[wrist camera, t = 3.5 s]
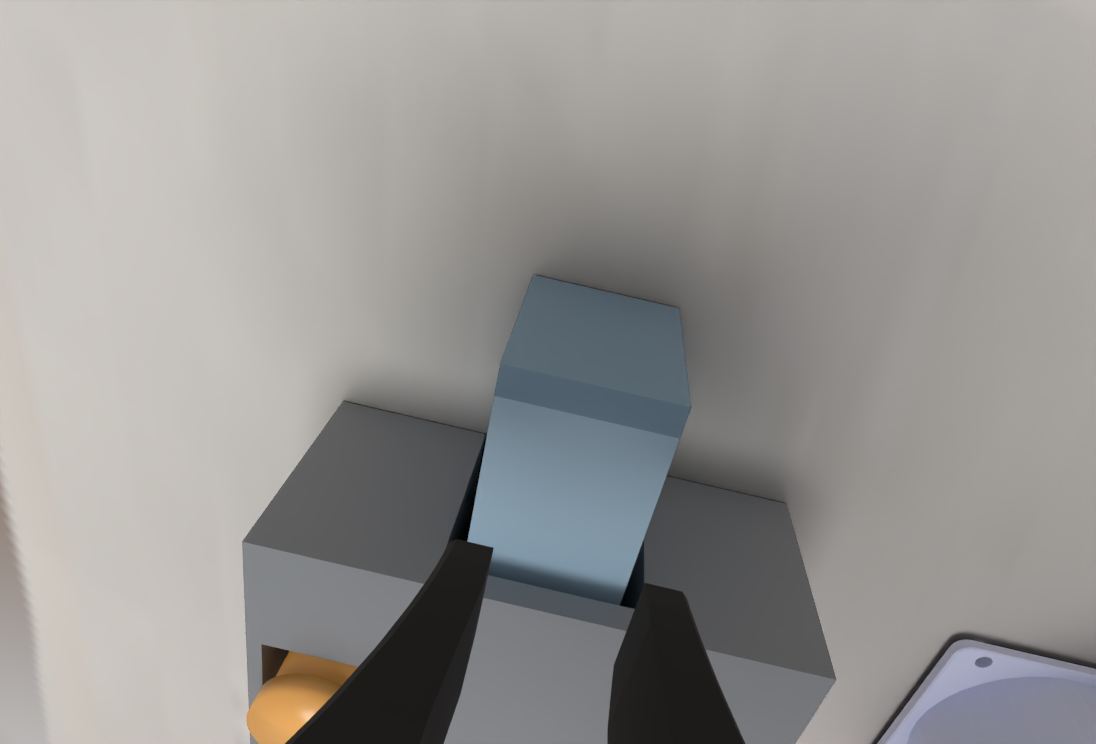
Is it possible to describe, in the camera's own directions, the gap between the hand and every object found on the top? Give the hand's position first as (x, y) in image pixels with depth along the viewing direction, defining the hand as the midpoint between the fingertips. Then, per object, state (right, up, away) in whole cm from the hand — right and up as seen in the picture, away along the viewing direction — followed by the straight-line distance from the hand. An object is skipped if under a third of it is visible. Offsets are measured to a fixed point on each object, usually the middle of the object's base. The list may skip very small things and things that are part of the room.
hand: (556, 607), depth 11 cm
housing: (0, -2, +12) cm, 13 cm away
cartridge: (0, 0, +11) cm, 11 cm away
